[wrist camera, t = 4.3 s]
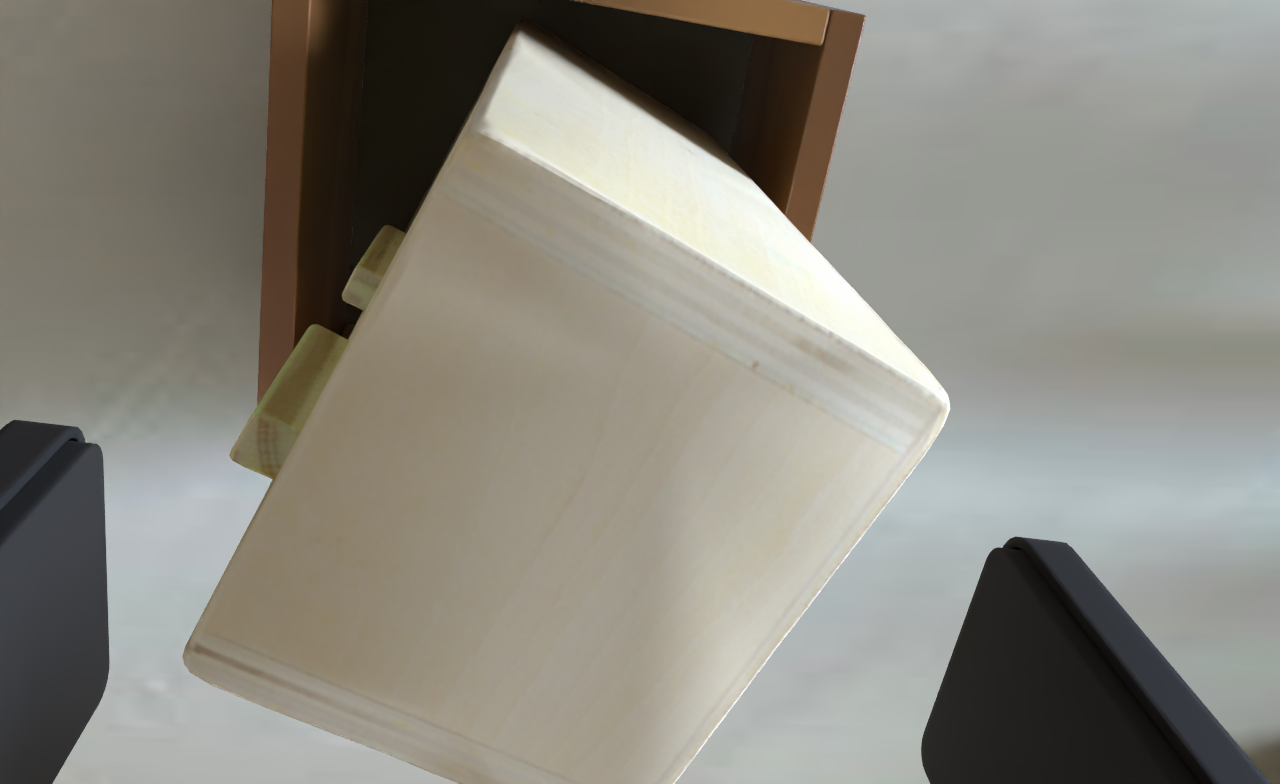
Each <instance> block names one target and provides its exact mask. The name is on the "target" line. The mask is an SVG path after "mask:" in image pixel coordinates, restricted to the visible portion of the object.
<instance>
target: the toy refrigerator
mask: <svg viewBox="0 0 1280 784" xmlns="http://www.w3.org/2000/svg"><path fill="white" fill-rule="evenodd" d="M342 298H343V301H345V302H346V303H349V304H351V305H354V306H356V307H358V308H360V309H361V310H363V312H362V314H361V316H360V317H359V319H358V321H357V323H356V325H355V327H354V329H353V331H352V333H351V335H350V337H349V339H348V340H347V339H345V338H343V337H341V336H339V335H338V334H336V333H334V332H332V331H330V330H328V329H326V328H324V327H322V326H320V325H318V324H316V325H311V326H310V327H308V329H307V330H306V332H305V334H304V335H303V337H302V338H301V340H300V341H299V343H298V344H297V346H296V347H295V349H294V350H293V352H292V353H291V355H290V356H289V358H288V359H287V361H286V363H285V364H284V366H283V367H282V369H281V370H280V372H279V373H278V375H277V376H276V378H275V379H274V381H273V383H272V384H271V386H270V387H269V389H268V390H267V392H266V393H265V395H264V396H263V398H262V400H261V401H260V403H259V404H258V406H257V407H256V409H255V410H254V412H253V413H252V415H251V417H250V418H249V420H248V422H247V424H246V425H245V427H244V429H243V431H242V433H241V434H240V436H239V438H238V440H237V441H236V443H235V445H234V446H233V448H232V450H231V453H230V457H231V459H232V460H233V461H235V462H237V463H238V464H240V465H242V466H244V467H246V468H248V469H250V470H253V471H255V472H258V473H260V474H262V475H265V476H267V477H269V478H271V479H273V480H272V482H271V484H270V486H269V488H268V490H267V492H266V494H265V496H264V498H263V500H262V502H261V503H260V505H259V507H258V509H257V511H256V513H255V515H254V517H253V518H252V520H251V522H250V524H249V526H248V528H247V530H246V532H245V534H244V535H243V537H242V539H241V541H240V543H239V545H238V547H237V549H236V551H235V553H234V555H233V556H232V558H231V560H230V562H229V564H228V566H227V568H226V570H225V572H224V574H223V575H222V577H221V579H220V581H219V583H218V585H217V587H216V589H215V591H214V593H213V595H212V596H211V598H210V600H209V602H208V604H207V606H206V608H205V610H204V612H203V614H202V616H201V617H200V619H199V621H198V623H197V625H196V627H195V629H194V631H193V633H192V635H191V637H190V639H189V640H188V642H187V644H186V646H185V649H184V653H183V660H184V664H185V666H186V667H187V669H188V670H189V671H190V673H192V674H194V675H195V676H197V677H199V678H200V679H202V680H204V681H205V682H207V683H209V684H210V685H213V686H215V687H217V688H220V689H222V690H225V691H227V692H229V693H232V694H234V695H236V696H239V697H241V698H244V699H246V700H248V701H251V702H253V703H256V704H259V705H261V706H264V707H266V708H269V709H271V710H274V711H276V712H279V713H282V714H284V715H287V716H289V717H292V718H294V719H297V720H299V721H302V722H305V723H307V724H310V725H312V726H315V727H317V728H320V729H323V730H325V731H328V732H330V733H333V734H336V735H338V736H341V737H344V738H346V739H349V740H351V741H354V742H357V743H359V744H362V745H365V746H367V747H370V748H373V749H375V750H378V751H380V752H383V753H386V754H388V755H391V756H393V757H395V758H398V759H400V760H402V761H405V762H407V763H410V764H412V765H414V766H417V767H419V768H421V769H424V770H426V771H429V772H431V773H433V774H436V775H439V776H441V777H444V778H446V779H449V780H451V781H454V782H457V783H459V784H674V783H675V782H676V781H677V780H678V778H679V777H680V776H681V775H682V773H683V772H684V771H685V769H686V768H687V767H688V765H689V764H690V763H691V761H692V760H693V759H694V757H695V756H696V755H697V753H698V752H699V751H700V749H701V748H702V747H703V745H704V744H705V743H706V741H707V740H708V739H709V737H710V736H711V735H712V734H713V732H714V731H715V730H716V728H717V727H718V726H719V724H720V723H721V722H722V720H723V719H724V718H725V716H726V715H727V714H728V712H729V711H730V710H731V708H732V707H733V706H734V704H735V703H736V702H737V700H738V699H739V698H740V696H741V695H742V694H743V692H744V691H745V690H746V688H747V687H748V686H749V684H750V683H751V682H752V680H753V679H754V678H755V676H756V675H757V674H758V672H759V671H760V670H761V668H762V667H763V666H764V664H765V663H766V662H767V660H768V659H769V658H770V656H771V655H772V654H773V652H774V651H775V650H776V648H777V647H778V646H779V645H780V643H781V642H782V641H783V639H784V638H785V637H786V635H787V634H788V633H789V631H790V630H791V629H792V628H793V626H794V625H795V624H796V622H797V621H798V620H799V618H800V617H801V616H802V615H803V613H804V612H805V611H806V609H807V608H808V607H809V605H810V604H811V603H812V602H813V600H814V599H815V598H816V596H817V595H818V594H819V592H820V591H821V590H822V589H823V587H824V586H825V585H826V583H827V582H828V581H829V579H830V578H831V577H832V576H833V574H834V573H835V572H836V570H837V569H838V568H839V566H840V565H841V564H842V563H843V561H844V560H845V559H846V557H847V556H848V555H849V553H850V552H851V551H852V550H853V548H854V547H855V546H856V544H857V543H858V542H859V540H860V539H861V538H862V537H863V535H864V534H865V533H866V531H867V530H868V529H869V527H870V526H871V525H872V523H873V522H874V521H875V520H876V518H877V517H878V516H879V514H880V513H881V512H882V510H883V509H884V508H885V507H886V505H887V504H888V503H889V501H890V500H891V499H892V497H893V496H894V495H895V494H896V492H897V491H898V490H899V488H900V487H901V486H902V484H903V483H904V482H905V481H906V479H907V478H908V477H909V475H910V474H911V473H912V471H913V470H914V469H915V468H916V466H917V465H918V464H919V462H920V461H921V460H922V458H923V457H924V456H925V454H926V453H927V451H928V450H929V448H930V447H931V445H932V444H933V442H934V440H935V439H936V437H937V435H938V434H939V432H940V430H941V429H942V427H943V425H944V423H945V420H946V418H947V415H948V413H949V410H950V404H949V397H948V395H947V393H946V392H945V390H944V389H943V387H942V386H941V385H940V384H939V382H938V381H937V380H936V379H935V377H934V376H933V375H932V374H931V372H930V371H929V370H928V369H927V368H926V367H925V366H924V365H923V363H922V362H921V361H920V360H919V359H918V358H917V357H916V356H915V355H914V354H913V353H912V352H911V351H910V349H909V348H908V347H907V346H906V345H905V344H904V343H903V342H902V341H901V340H900V339H899V338H898V337H897V336H896V335H895V334H894V333H893V332H892V331H891V329H890V328H889V327H888V326H887V325H886V324H885V322H884V321H883V320H882V319H881V318H880V317H879V316H878V315H877V314H876V312H875V311H874V310H873V309H872V308H871V307H870V306H869V305H868V304H867V303H866V302H865V301H864V300H863V299H862V298H861V296H860V295H859V294H858V293H857V292H856V291H855V290H854V289H853V288H852V287H851V286H850V285H849V284H848V283H847V282H846V281H845V279H844V278H843V277H842V276H841V275H840V274H839V273H838V272H837V271H836V270H835V269H834V268H833V267H832V266H831V265H830V263H829V262H828V261H827V260H826V259H825V258H824V257H823V256H822V255H821V254H820V253H819V252H818V251H817V250H816V249H815V247H814V246H813V245H812V244H811V243H810V242H809V241H808V240H807V239H806V238H805V237H804V236H803V235H802V234H801V233H800V231H799V230H798V229H797V228H796V227H795V226H794V225H793V224H792V223H791V222H790V221H789V220H788V219H787V217H786V216H785V215H784V214H783V213H782V212H781V211H780V210H779V209H778V208H777V206H776V205H775V204H774V203H773V202H772V201H771V200H770V199H769V198H768V197H767V196H766V195H765V193H764V192H763V191H762V190H761V189H760V188H759V187H758V186H757V185H756V184H755V183H754V182H753V180H752V179H751V178H750V177H749V176H748V175H747V174H746V173H745V172H744V171H743V170H742V169H741V167H740V166H739V165H738V164H737V163H736V162H735V161H734V160H733V159H732V158H731V157H730V156H729V155H728V154H727V153H726V152H725V150H724V149H723V148H722V147H721V146H720V145H719V144H718V143H717V142H716V141H715V140H714V139H713V138H712V136H711V135H710V134H708V133H707V132H705V131H704V130H702V129H700V128H699V127H697V126H696V125H694V124H693V123H691V122H689V121H688V120H686V119H685V118H683V117H682V116H680V115H678V114H677V113H675V112H674V111H672V110H671V109H669V108H667V107H666V106H664V105H663V104H661V103H659V102H658V101H656V100H655V99H653V98H652V97H650V96H649V95H647V94H645V93H644V92H642V91H641V90H639V89H637V88H636V87H634V86H633V85H632V84H630V83H629V82H627V81H625V80H624V79H622V78H620V77H619V76H617V75H615V74H614V73H612V72H611V71H609V70H607V69H606V68H604V67H603V66H601V65H600V64H598V63H597V62H595V61H593V60H592V59H590V58H589V57H587V56H585V55H584V54H582V53H581V52H579V51H577V50H576V49H574V48H573V47H571V46H570V45H568V44H566V43H565V42H563V41H562V40H560V39H559V38H557V37H555V36H554V35H552V34H551V33H549V32H548V31H546V30H544V29H543V28H541V27H540V26H538V25H536V24H535V23H533V22H532V21H530V20H528V19H526V18H520V19H519V21H518V22H517V24H516V26H515V28H514V30H513V32H512V34H511V35H510V37H509V39H508V41H507V43H506V45H505V47H504V49H503V50H502V52H501V54H500V56H499V58H498V60H497V62H496V63H495V65H494V67H493V69H492V71H491V73H490V75H489V76H488V78H487V80H486V82H485V84H484V86H483V87H482V89H481V91H480V93H479V95H478V97H477V99H476V100H475V102H474V104H473V106H472V108H471V110H470V112H469V113H468V115H467V117H466V119H465V121H464V123H463V125H462V126H461V128H460V130H459V132H458V134H457V136H456V138H455V139H454V141H453V143H452V145H451V147H450V149H449V151H448V152H447V154H446V156H445V158H444V160H443V162H442V164H441V165H440V167H439V169H438V171H437V173H436V175H435V177H434V179H433V180H432V182H431V184H430V186H429V188H428V190H427V191H426V193H425V195H424V197H423V198H422V200H421V202H420V204H419V206H418V208H417V210H416V212H415V213H414V215H413V217H412V219H411V221H410V223H409V224H408V226H407V228H406V230H405V232H402V231H400V230H398V229H396V228H394V227H392V226H389V225H385V226H383V228H382V229H381V230H380V232H379V233H378V234H377V236H376V237H375V239H374V240H373V242H372V243H371V245H370V246H369V248H368V249H367V251H366V252H365V254H364V255H363V257H362V258H361V260H360V261H359V263H358V264H357V266H356V267H355V269H354V271H353V273H352V275H351V277H350V279H349V281H348V283H347V285H346V287H345V289H344V291H343V293H342Z"/></svg>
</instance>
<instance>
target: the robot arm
mask: <svg viewBox="0 0 1280 784" xmlns="http://www.w3.org/2000/svg"><path fill="white" fill-rule="evenodd" d="M108 673H109V634H108V602H107V569H106V537H105V504H104V472H103V455H102V451H101V448H100V446H99V445H98V444H93V443H85V439H84V436H83V433H82V431H81V430H80V429H79V428H78V427H72V426H64V425H55V424H47V423H38V422H29V421H21V420H13V421H11V422H10V423H8V424H6V425H5V426H4V427H3V428H2V429H1V430H0V784H52V783H53V781H54V780H55V778H56V776H57V775H58V773H59V771H60V769H61V768H62V766H63V764H64V763H65V761H66V759H67V757H68V756H69V754H70V752H71V751H72V749H73V747H74V745H75V744H76V742H77V740H78V739H79V737H80V735H81V734H82V732H83V730H84V728H85V727H86V725H87V723H88V722H89V720H90V718H91V716H92V715H93V713H94V711H95V710H96V708H97V706H98V705H99V702H100V700H101V698H102V696H103V693H104V690H105V687H106V683H107V679H108ZM921 755H922V762H923V767H924V770H925V772H926V775H927V777H928V779H929V781H930V784H1271V783H1270V782H1269V781H1268V780H1267V779H1266V777H1265V776H1264V775H1263V774H1262V773H1261V771H1260V770H1259V769H1258V768H1257V767H1256V765H1255V764H1254V763H1253V762H1252V761H1251V760H1250V758H1249V757H1248V756H1247V755H1246V754H1245V752H1244V751H1243V750H1242V749H1241V748H1240V746H1239V745H1238V744H1237V743H1236V742H1235V741H1234V739H1233V738H1232V737H1231V736H1230V735H1229V733H1228V732H1227V731H1226V730H1225V729H1224V728H1223V726H1222V725H1221V724H1220V723H1219V722H1218V720H1217V719H1216V718H1215V717H1214V716H1213V714H1212V713H1211V712H1210V711H1209V710H1208V709H1207V707H1206V706H1205V705H1204V704H1203V703H1202V701H1201V700H1200V699H1199V698H1198V697H1197V695H1196V694H1195V693H1194V692H1193V691H1192V690H1191V688H1190V687H1189V686H1188V685H1187V684H1186V682H1185V681H1184V680H1183V679H1182V678H1181V676H1180V675H1179V674H1178V673H1177V672H1176V671H1175V669H1174V668H1173V667H1172V666H1171V665H1170V663H1169V662H1168V661H1167V660H1166V659H1165V657H1164V656H1163V655H1162V654H1161V653H1160V652H1159V650H1158V649H1157V648H1156V647H1155V646H1154V644H1153V643H1152V642H1151V641H1150V640H1149V639H1148V637H1147V636H1146V635H1145V634H1144V633H1143V631H1142V630H1141V629H1140V628H1139V627H1138V625H1137V624H1136V623H1135V622H1134V621H1133V620H1132V618H1131V617H1130V616H1129V615H1128V614H1127V612H1126V611H1125V610H1124V609H1123V608H1122V606H1121V605H1120V604H1119V603H1118V602H1117V601H1116V599H1115V598H1114V597H1113V596H1112V595H1111V593H1110V592H1109V591H1108V590H1107V589H1106V587H1105V586H1104V585H1103V584H1102V583H1101V582H1100V580H1099V579H1098V578H1097V577H1096V576H1095V574H1094V573H1093V572H1092V571H1091V570H1090V568H1089V567H1088V566H1087V565H1086V564H1085V563H1084V561H1083V560H1082V559H1081V558H1080V557H1079V555H1078V554H1077V553H1076V552H1075V551H1074V550H1073V548H1072V547H1070V546H1069V545H1068V544H1067V543H1063V542H1057V541H1048V540H1039V539H1031V538H1022V537H1013V538H1011V539H1009V540H1008V541H1007V542H1006V544H1005V545H1004V546H1003V548H995V549H993V550H992V551H991V552H990V554H989V555H988V557H987V559H986V562H985V565H984V567H983V570H982V573H981V576H980V578H979V581H978V584H977V587H976V590H975V592H974V595H973V598H972V601H971V603H970V606H969V609H968V612H967V615H966V617H965V620H964V623H963V626H962V628H961V631H960V634H959V637H958V640H957V642H956V645H955V648H954V651H953V653H952V656H951V659H950V662H949V664H948V667H947V670H946V673H945V676H944V678H943V681H942V684H941V687H940V689H939V692H938V695H937V698H936V701H935V703H934V706H933V709H932V712H931V714H930V717H929V720H928V723H927V726H926V728H925V731H924V734H923V738H922V746H921Z"/></svg>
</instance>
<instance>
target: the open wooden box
mask: <svg viewBox="0 0 1280 784" xmlns="http://www.w3.org/2000/svg"><path fill="white" fill-rule="evenodd" d="M571 1H577V2H582V3H588V4H593V5H599V6H604V7H610V8H615V9H620V10H626V11H631V12H637V13H642V14H648V15H653V16H659V17H664V18H670V19H675V20H681V21H686V22H692V23H697V24H702V25H708V26H713V27H719V28H724V29H730V30H735V31H741V32H746V33H752V34H754V36H753V41H752V46H751V51H750V56H749V60H748V65H747V70H746V75H745V80H744V85H743V90H742V94H741V99H740V104H739V109H738V114H737V119H736V123H735V128H734V133H733V138H732V143H731V148H730V152H729V156H730V157H731V158H732V159H733V160H734V161H735V162H736V163H737V164H738V165H739V166H740V167H741V169H742V170H743V171H744V172H745V173H746V174H747V175H748V176H749V177H750V178H751V179H752V180H753V182H754V183H755V184H756V185H757V186H758V187H759V188H760V189H761V190H762V191H763V192H764V193H765V195H766V196H767V197H768V198H769V199H770V200H771V201H772V202H773V203H774V204H775V205H776V206H777V208H778V209H779V210H780V211H781V212H782V213H783V214H784V215H785V216H786V217H787V219H788V220H789V221H790V222H791V223H792V224H793V225H794V226H795V227H796V228H797V229H798V230H799V231H800V233H801V234H802V235H803V236H804V237H805V238H806V239H807V240H808V241H809V242H810V243H811V240H812V236H813V232H814V228H815V224H816V219H817V215H818V211H819V207H820V203H821V199H822V195H823V191H824V187H825V183H826V179H827V175H828V170H829V166H830V162H831V158H832V154H833V150H834V146H835V142H836V138H837V134H838V130H839V126H840V121H841V117H842V113H843V109H844V105H845V101H846V97H847V93H848V89H849V85H850V81H851V76H852V72H853V68H854V64H855V60H856V56H857V52H858V48H859V44H860V40H861V36H862V32H863V27H864V23H865V19H866V16H865V15H862V14H858V13H854V12H849V11H845V10H841V9H837V8H832V7H828V6H824V5H819V4H815V3H811V2H806V1H802V0H571ZM367 14H368V0H272V14H271V41H270V69H269V96H268V123H267V151H266V178H265V206H264V233H263V260H262V288H261V315H260V342H259V370H258V397H257V406H258V404H259V403H260V401H261V400H262V398H263V396H264V395H265V393H266V392H267V390H268V389H269V387H270V386H271V384H272V383H273V381H274V379H275V378H276V376H277V375H278V373H279V372H280V370H281V369H282V367H283V366H284V364H285V363H286V361H287V359H288V358H289V356H290V355H291V353H292V352H293V350H294V349H295V347H296V346H297V344H298V343H299V341H300V340H301V338H302V337H303V335H304V334H305V332H306V330H307V329H308V327H310V326H311V325H316V324H318V325H320V326H322V327H324V328H326V329H328V330H330V331H332V332H334V333H336V334H338V335H339V336H341V337H343V338H345V339H347V340H348V339H349V337H350V335H351V333H352V331H353V329H354V327H355V325H356V324H346V314H347V303H346V302H345V301H343V298H342V293H343V291H344V289H345V287H346V285H347V283H348V281H349V271H350V256H351V242H352V228H353V214H354V199H355V185H356V171H357V157H358V142H359V128H360V114H361V100H362V85H363V71H364V57H365V43H366V28H367Z"/></svg>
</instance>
